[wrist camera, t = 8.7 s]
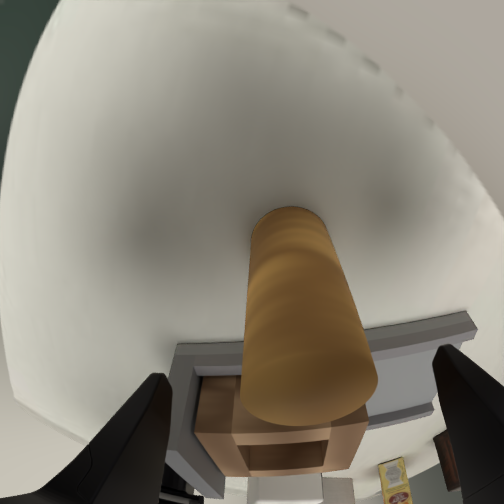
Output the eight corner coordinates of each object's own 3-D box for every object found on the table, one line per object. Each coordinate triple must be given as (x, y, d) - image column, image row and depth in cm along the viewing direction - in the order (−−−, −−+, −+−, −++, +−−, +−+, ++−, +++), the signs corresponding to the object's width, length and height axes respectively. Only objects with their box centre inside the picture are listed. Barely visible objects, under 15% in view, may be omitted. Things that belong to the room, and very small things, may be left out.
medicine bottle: (301, 466, 32) (304, 544, 22) (248, 463, 32) (244, 545, 22) (320, 447, 29) (327, 539, 18) (258, 445, 28) (255, 543, 18)
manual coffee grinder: (452, 445, 33) (474, 532, 18) (430, 438, 30) (454, 545, 15) (529, 391, 27) (564, 478, 12) (523, 373, 24) (569, 481, 8)
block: (229, 427, 24) (225, 476, 20) (204, 368, 19) (194, 432, 15) (341, 420, 23) (348, 468, 19) (354, 357, 19) (369, 421, 14)
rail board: (214, 424, 26) (206, 497, 19) (177, 344, 20) (150, 447, 13) (425, 399, 24) (446, 466, 17) (466, 311, 18) (514, 394, 11)
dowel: (256, 278, 17) (249, 429, 9) (246, 210, 15) (228, 358, 7) (328, 271, 16) (366, 417, 9) (327, 203, 14) (390, 341, 7)
